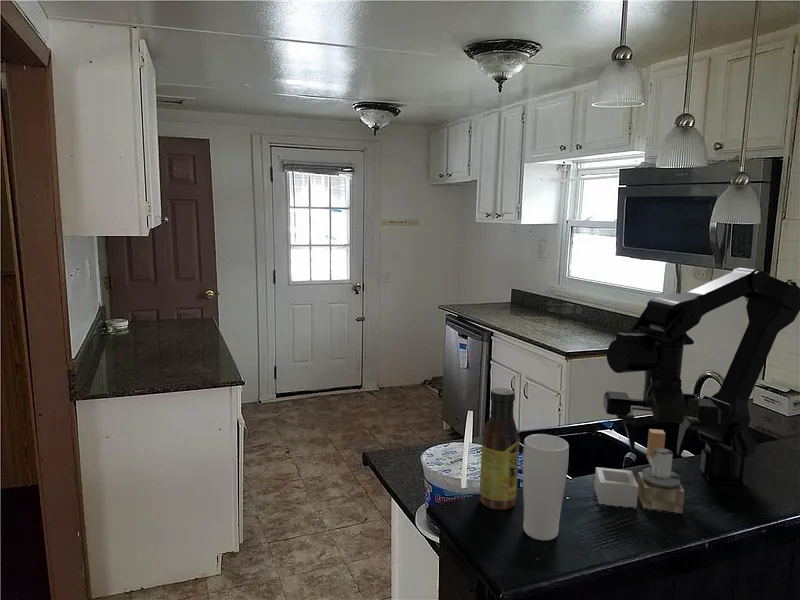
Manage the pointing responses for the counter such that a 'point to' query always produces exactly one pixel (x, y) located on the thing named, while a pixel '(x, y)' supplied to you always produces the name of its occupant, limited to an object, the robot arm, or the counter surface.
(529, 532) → the drinking glass
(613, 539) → the counter surface
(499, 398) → the sauce bottle
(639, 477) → the birch socket block
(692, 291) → the robot arm
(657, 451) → the grey flanged peg
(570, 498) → the counter surface
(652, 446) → the tan and grey l-block
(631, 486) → the grey block
